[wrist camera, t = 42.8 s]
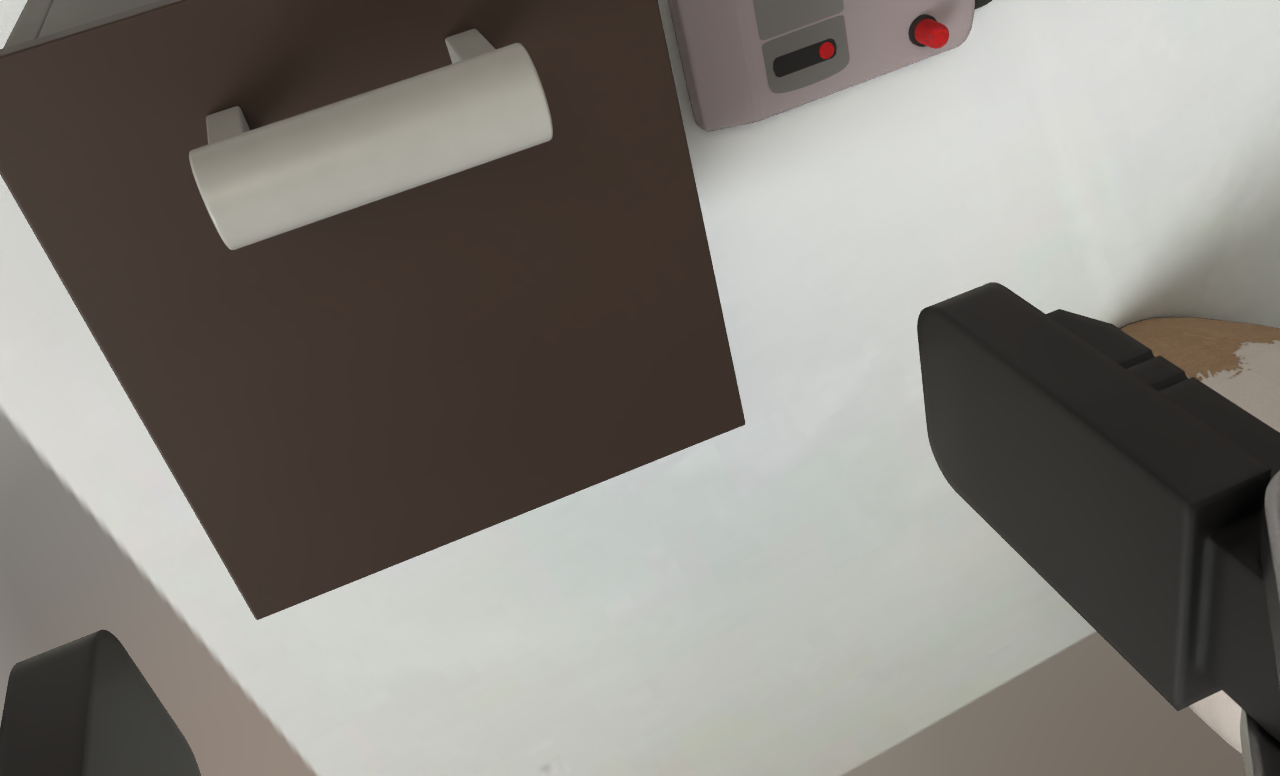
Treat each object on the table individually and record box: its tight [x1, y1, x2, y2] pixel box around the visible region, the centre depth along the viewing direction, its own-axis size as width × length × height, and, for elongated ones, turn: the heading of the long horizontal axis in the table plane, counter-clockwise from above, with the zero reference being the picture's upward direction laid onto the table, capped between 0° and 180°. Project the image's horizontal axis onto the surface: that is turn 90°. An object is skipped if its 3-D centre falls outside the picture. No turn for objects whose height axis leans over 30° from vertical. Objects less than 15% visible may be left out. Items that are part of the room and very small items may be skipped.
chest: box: [3, 0, 160, 49], centre depth 32 cm, size 14×14×12 cm
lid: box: [0, 0, 745, 620], centre depth 25 cm, size 14×14×6 cm
